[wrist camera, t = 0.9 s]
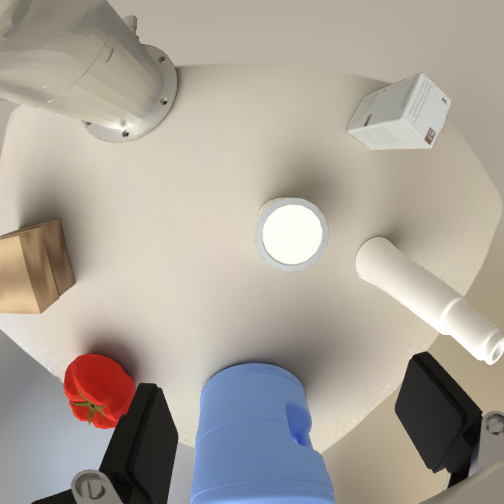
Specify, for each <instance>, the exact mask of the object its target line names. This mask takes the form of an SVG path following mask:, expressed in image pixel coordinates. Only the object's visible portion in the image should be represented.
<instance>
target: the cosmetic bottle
mask: <svg viewBox="0 0 504 504" xmlns="http://www.w3.org/2000/svg"><path fill="white" fill-rule="evenodd" d="M355 266H356V271H357V273H358V275H359V276H360V277H361V278H362V279H363V280H365V281H367V282H369V283H371V284H373V285H375V286H377V287H379V288H380V289H382V290H384V291H385V292H387V293H388V294H390V295H391V296H392V297H394V298H395V299H397V300H398V301H399V302H401V303H402V304H403V305H405V306H406V307H407V308H409V309H410V310H411V311H412V312H414V313H415V314H416V315H418V316H419V317H420V318H421V319H423V320H424V321H425V322H427V323H428V324H429V325H431V326H432V327H433V328H435V329H436V330H437V331H439V332H440V333H441V334H444V335H449V334H450V335H451V336H452V337H453V338H455V339H456V340H457V341H458V342H459V343H460V344H461V345H462V346H463V347H464V348H466V349H467V350H468V351H469V352H470V353H471V354H472V355H473V356H474V357H475V358H477V359H478V360H484V359H485V362H486V363H487V364H489V365H491V364H493V363H495V362H496V361H497V360H498V359H499V358H500V356H501V355H502V353H503V351H504V336H502V335H500V330H499V328H498V327H497V326H495V325H494V324H493V323H491V322H490V321H489V320H487V319H486V318H484V317H483V316H482V315H480V314H479V313H477V312H476V311H475V310H473V309H472V308H470V307H469V306H468V303H467V300H466V299H465V298H464V297H463V296H462V295H461V294H459V293H458V292H457V291H455V290H454V289H453V288H452V287H450V286H449V285H447V284H446V283H445V282H443V281H442V280H441V279H439V278H438V277H436V276H435V275H433V274H432V273H430V272H429V271H428V270H426V269H425V268H423V267H422V266H420V265H419V264H417V263H416V262H414V261H413V260H412V259H410V258H409V257H407V256H406V255H405V254H403V253H402V252H401V251H400V250H398V249H397V248H396V247H395V246H394V245H393V244H392V243H391V242H390V241H389V240H387V239H385V238H383V237H374V238H371V239H369V240H368V241H366V242H365V243H364V244H363V245H362V246H361V247H360V249H359V251H358V253H357V256H356V260H355Z"/></svg>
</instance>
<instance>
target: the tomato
mask: <svg viewBox="0 0 504 504" xmlns="http://www.w3.org/2000/svg"><path fill="white" fill-rule="evenodd" d="M64 390H65V394H66V395H67V397H68V398H69V399H70V400H69V405H70V406H71V408H72V411H73V414H74V415H75V417H77V418H78V419H79V420H80V421H88V422H89V424H90V422H92V423H93V424H94V426H95V427H97V428H102V429H108V428H115V427H116V425H117V423H118V421H119V419H120V417H121V416H122V415H123V414H127V412H128V409H129V407H130V404H131V402H132V399H133V397H134V395H135V392H136V389H135V385H134V381H133V379H132V378H131V377H130V376H129V375H127V374H126V373H125V372H124V370H123V368H122V367H121V365H120V364H118V363H117V362H115V361H114V360H113V359H111V358H108V357H105V356H102V355H96V354H86V355H81V356H78V357H77V358H76V359H75V360H74V361H73V362H72V363H71V364H70V365H69V366H68V368H67V370H66V372H65V380H64Z"/></svg>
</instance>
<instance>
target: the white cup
mask: <svg viewBox="0 0 504 504" xmlns="http://www.w3.org/2000/svg"><path fill="white" fill-rule="evenodd" d="M328 233H329V229H328V226H327V222H326V219H325V216H324V215H323V213H322V212H321V211H320V210H319V209H318V207H317V206H316V205H314V204H312V203H311V202H309V201H307V200H305V199H302V198H276V199H273V200H270V201H268V202H267V203H266V204H264V205H263V206H262V207H261V208H260V211H259V213H258V215H257V217H256V226H255V244H256V247H257V249H258V252H259V255H260V256H261V257H262V258H263V259H264V260H265V261H266V262H267V263H268V264H269V265H270V266H272V267H274V268H276V269H279V270H281V271H299V270H301V269H304V268H307V267H310V266H311V265H312V264H313V263H314V262H315V261H317V260H318V259H319V258H320V257H321V255H322V253H323V251H324V250H325V248H326V246H327V242H328Z"/></svg>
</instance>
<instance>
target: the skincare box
mask: <svg viewBox="0 0 504 504" xmlns="http://www.w3.org/2000/svg"><path fill="white" fill-rule="evenodd" d="M450 105H451V100H450V99H449V98H448V97H447V96H446V95H445V94H444V93H443V92H442V91H441V90H440V89H439V88H438V87H437V86H436V85H435V84H434V83H433V82H432V81H431V80H430V79H429V78H428V77H426V76H425V75H424V74H423V73H419V74H416V75H414V76H411V77H409V78H406V79H403V80H401V81H399V82H396V83H394V84H391V85H389V86H387V87H385V88H382V89H380V90H378V91H375V92H373V93H371V94H369V95H366V96H365V97H364V99H363V100H362V102H361V103H360V105H359V106H358V108H357V110H356V111H355V113H354V115H353V117H352V118H351V120H350V122H349V124H348V126H347V128H346V132H348V133H349V134H350V135H351V136H353V137H354V138H356V139H357V140H358V141H360V142H361V143H362V144H363V145H365V146H366V147H367V148H369V149H370V150H392V149H432V148H433V146H434V143H435V141H436V139H437V137H438V134H439V132H440V131H441V130H442V128H443V126H444V124H445V121H446V115H447V113H448V110H449V108H450Z"/></svg>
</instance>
